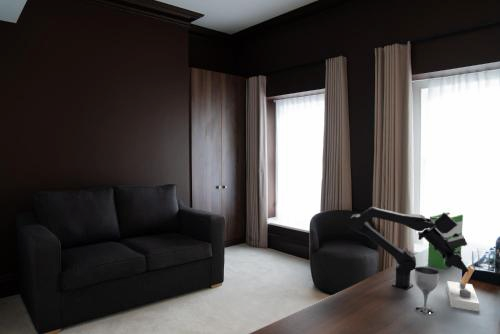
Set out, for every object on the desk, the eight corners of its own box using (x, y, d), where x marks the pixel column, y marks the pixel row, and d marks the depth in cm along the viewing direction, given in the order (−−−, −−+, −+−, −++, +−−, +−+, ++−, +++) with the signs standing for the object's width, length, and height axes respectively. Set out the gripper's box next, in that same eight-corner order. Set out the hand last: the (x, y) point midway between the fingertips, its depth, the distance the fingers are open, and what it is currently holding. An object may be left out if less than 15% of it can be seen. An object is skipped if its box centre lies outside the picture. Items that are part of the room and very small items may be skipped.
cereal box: (445, 257, 195) (447, 212, 193) (460, 261, 189) (462, 214, 187) (427, 264, 185) (429, 216, 183) (442, 269, 179) (445, 219, 177)
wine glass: (427, 317, 131) (429, 275, 129) (408, 308, 138) (409, 268, 136) (442, 312, 134) (444, 272, 133) (422, 303, 141) (424, 265, 140)
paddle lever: (459, 287, 148) (470, 268, 146) (458, 283, 152) (469, 264, 150) (464, 289, 147) (474, 270, 145) (462, 285, 151) (473, 266, 149)
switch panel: (450, 306, 139) (451, 299, 139) (446, 287, 156) (447, 280, 156) (479, 311, 135) (479, 303, 135) (471, 291, 153) (471, 284, 153)
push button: (460, 296, 140) (460, 292, 140) (459, 292, 144) (459, 289, 144) (471, 298, 139) (471, 294, 139) (469, 294, 142) (470, 290, 142)
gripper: (456, 233, 141) (489, 266, 137) (451, 223, 158) (480, 252, 154) (432, 252, 144) (463, 284, 141) (430, 239, 161) (458, 268, 158)
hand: (467, 271), depth 148 cm, fingers closed
